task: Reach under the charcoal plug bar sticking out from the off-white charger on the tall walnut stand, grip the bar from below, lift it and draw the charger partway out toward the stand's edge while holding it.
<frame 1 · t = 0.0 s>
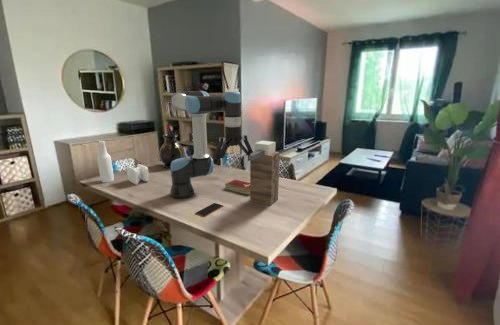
hand: (233, 169, 129), 28 cm above the table, tool pointing down, fingers open, 13 cm apart
stand: (264, 200, 162), on the table
alcohol: (107, 181, 197), on the table
amphora vase: (172, 166, 234), on the table
hardcover book: (242, 190, 180), on the table
charger: (260, 154, 150), point 30 cm above the table, touching stand
cable organizer: (138, 181, 195), on the table
smartphone: (209, 210, 149), on the table
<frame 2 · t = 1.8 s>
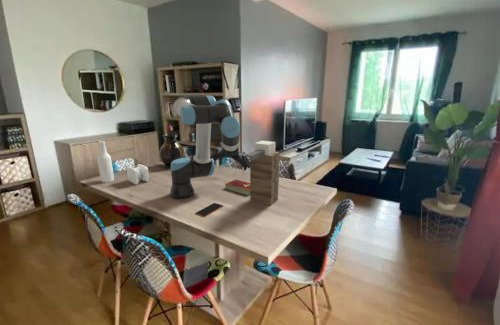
hand: (230, 168, 135), 26 cm above the table, tool tilted 45°, fingers open, 13 cm apart
nothing on the table moved.
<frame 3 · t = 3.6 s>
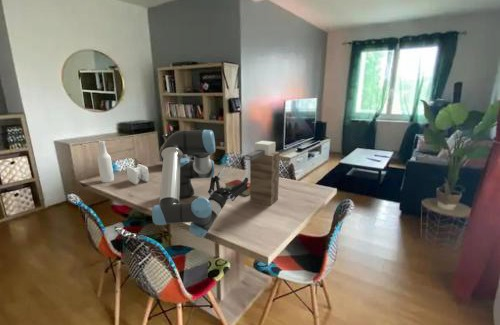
hand: (236, 171, 130), 27 cm above the table, tool pointing upward, fingers open, 13 cm apart
nothing on the table moved.
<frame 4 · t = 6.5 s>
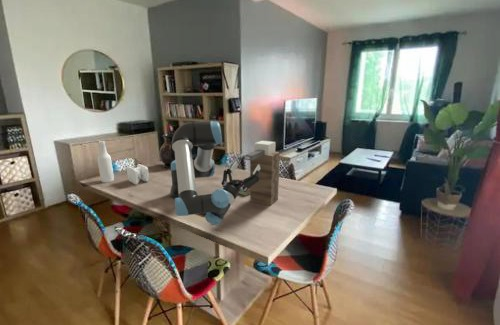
hand: (247, 164, 138), 28 cm above the table, tool pointing upward, fingers open, 13 cm apart
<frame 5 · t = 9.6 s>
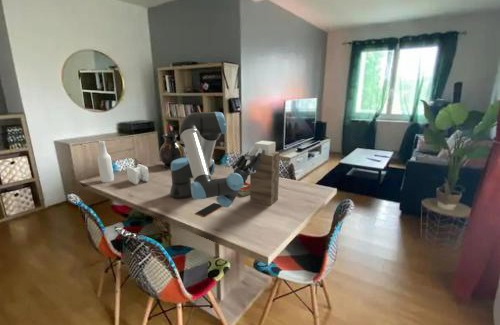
hand: (257, 149, 145), 34 cm above the table, tool pointing upward, fingers closed on charger, 4 cm apart
charger: (260, 154, 150), point 30 cm above the table, touching gripper, stand
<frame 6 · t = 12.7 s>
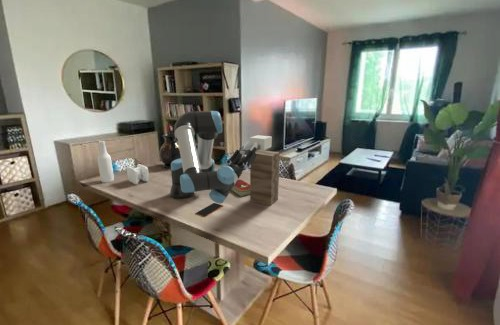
hand: (252, 143, 140), 38 cm above the table, tool pointing upward, fingers closed on charger, 4 cm apart
charger: (256, 149, 144), point 34 cm above the table, touching gripper
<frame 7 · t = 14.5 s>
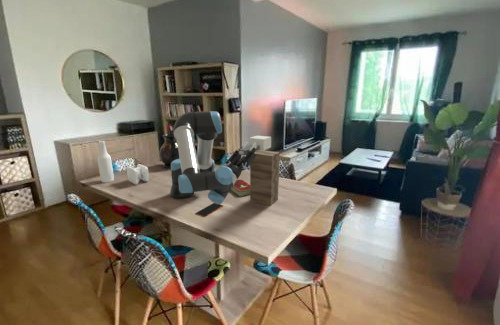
hand: (251, 143, 139), 38 cm above the table, tool pointing upward, fingers closed on charger, 4 cm apart
charger: (255, 149, 144), point 34 cm above the table, touching gripper
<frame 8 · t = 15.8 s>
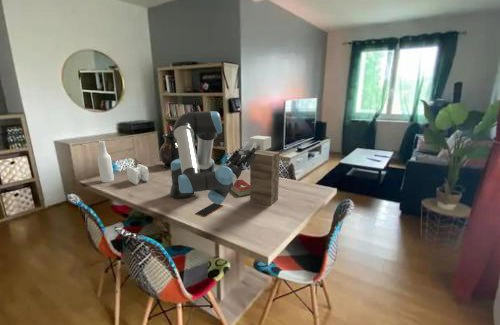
hand: (251, 143, 139), 38 cm above the table, tool pointing upward, fingers closed on charger, 4 cm apart
charger: (255, 149, 144), point 34 cm above the table, touching gripper
at the end: the gripper is holding charger; charger moved 7.2 cm from its start; charger point 34.0 cm above the table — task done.
